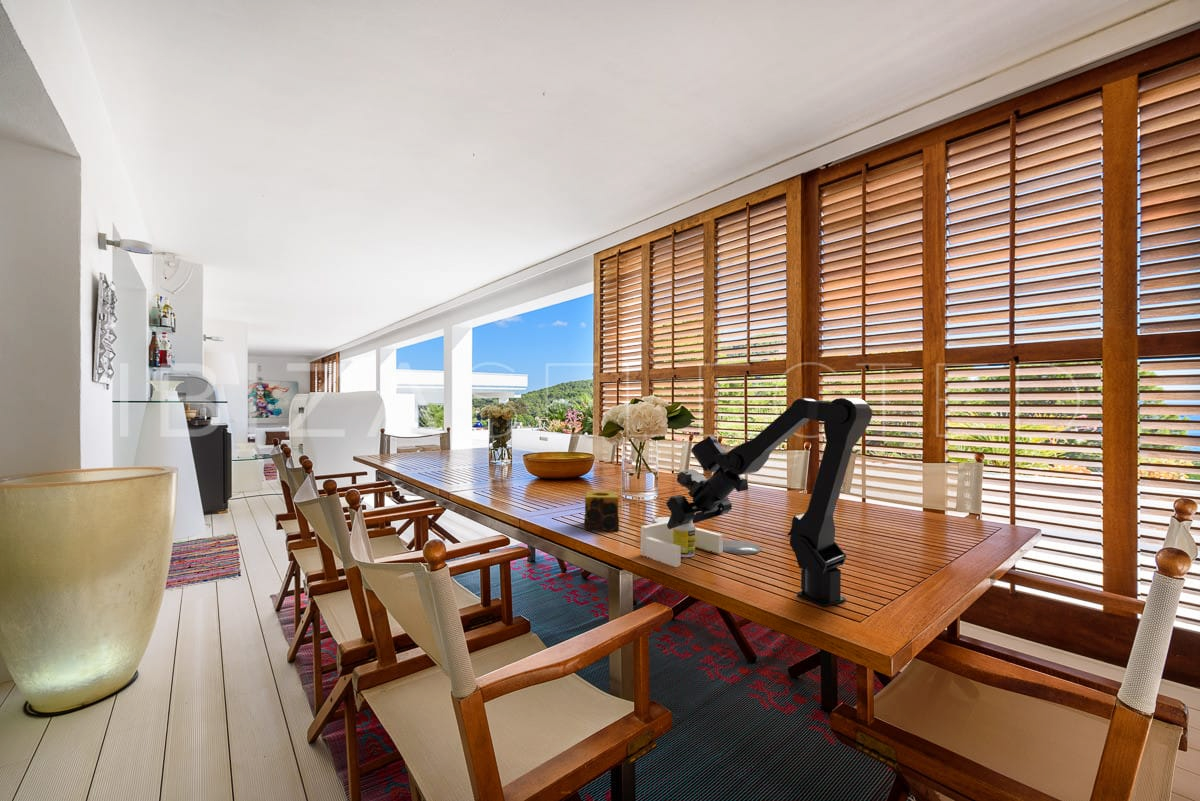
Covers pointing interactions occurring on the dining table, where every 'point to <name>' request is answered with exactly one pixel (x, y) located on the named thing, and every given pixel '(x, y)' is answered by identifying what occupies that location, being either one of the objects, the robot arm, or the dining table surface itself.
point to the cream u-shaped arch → (662, 548)
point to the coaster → (740, 547)
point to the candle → (601, 511)
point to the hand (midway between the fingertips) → (680, 524)
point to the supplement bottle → (685, 538)
